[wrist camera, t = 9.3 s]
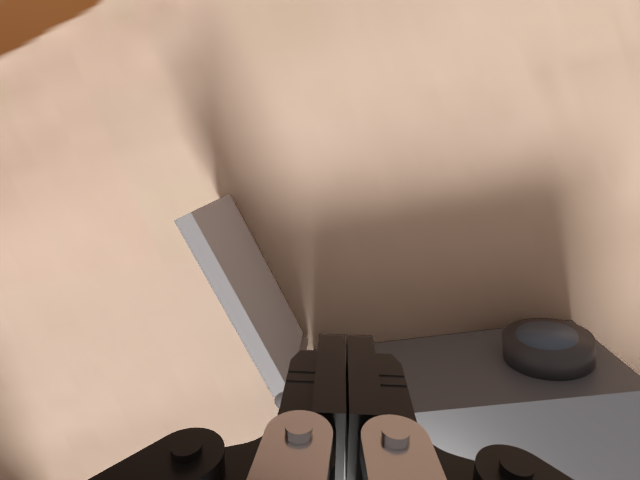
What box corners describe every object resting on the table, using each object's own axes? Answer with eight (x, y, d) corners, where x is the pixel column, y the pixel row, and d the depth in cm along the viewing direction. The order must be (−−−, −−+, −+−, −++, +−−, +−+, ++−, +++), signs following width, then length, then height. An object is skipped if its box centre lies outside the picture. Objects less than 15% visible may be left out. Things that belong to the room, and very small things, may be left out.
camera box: (338, 485, 33) (334, 607, 24) (309, 330, 30) (293, 407, 21) (575, 466, 31) (661, 591, 22) (571, 298, 28) (669, 369, 19)
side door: (310, 344, 30) (299, 406, 23) (289, 353, 30) (272, 416, 23) (231, 193, 27) (192, 211, 21) (209, 203, 28) (164, 225, 21)
